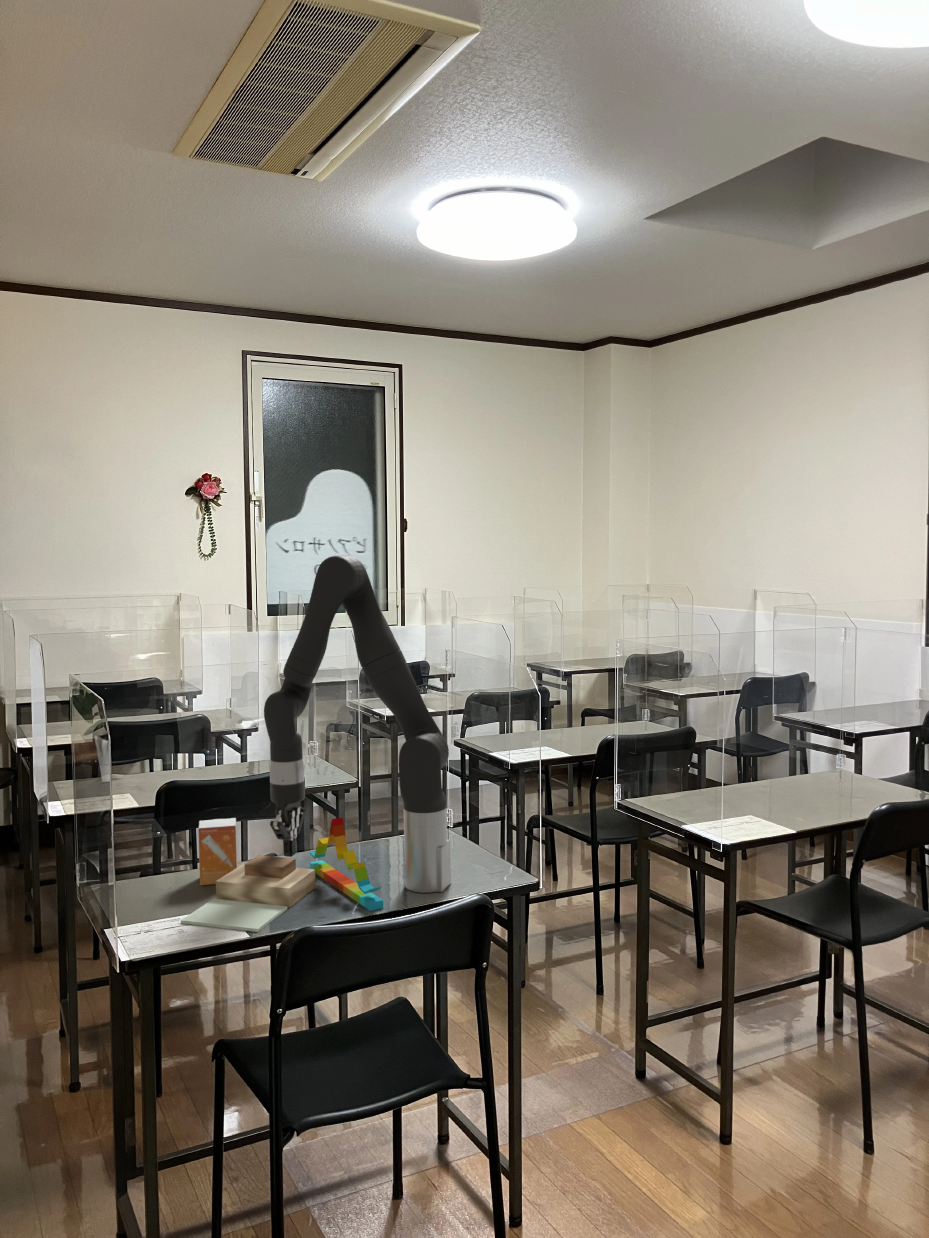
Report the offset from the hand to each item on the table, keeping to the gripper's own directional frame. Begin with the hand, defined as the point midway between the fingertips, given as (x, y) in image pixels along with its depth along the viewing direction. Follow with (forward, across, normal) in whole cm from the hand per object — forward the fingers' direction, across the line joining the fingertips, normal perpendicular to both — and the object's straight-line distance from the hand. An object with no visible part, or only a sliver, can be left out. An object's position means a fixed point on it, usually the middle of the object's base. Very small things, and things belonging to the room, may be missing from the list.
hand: (289, 855), depth 220 cm
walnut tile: (0, -9, 0) cm, 9 cm away
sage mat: (+5, -24, 0) cm, 24 cm away
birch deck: (+5, -11, 0) cm, 12 cm away
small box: (+5, -6, +14) cm, 16 cm away
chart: (+5, -3, -15) cm, 16 cm away
